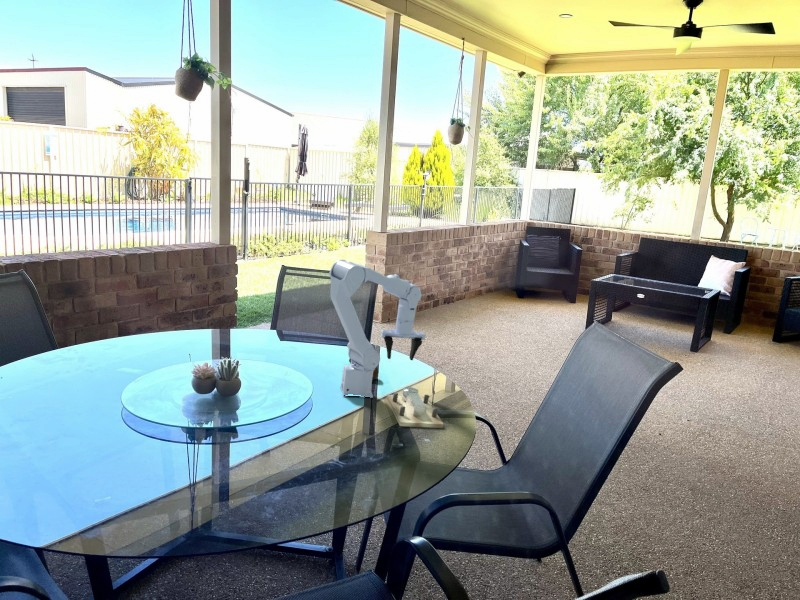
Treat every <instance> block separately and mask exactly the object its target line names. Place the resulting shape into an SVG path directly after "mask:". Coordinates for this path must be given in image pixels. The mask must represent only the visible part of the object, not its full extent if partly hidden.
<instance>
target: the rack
mask: <svg viewBox="0 0 800 600" xmlns="http://www.w3.org/2000/svg"><path fill="white" fill-rule="evenodd" d="M402 395H403V394H401V395H399V393H397V392H393V394H386V400H387V403H388V404H389V407H390V408H391V411H392V413H393V414H394V415H393V416H394V417H395V419H396V421H397V423H398V426H399V427H411V428H415V427H416V428H431V429H432V428H434V429H437V428H438V429H443V428H444V426H445V425H444V422H443V421H442V419H441V418H440V416H439V415H438V411H439V410H438V408H437V407H433V406H432V405H433V404H431V403H430V401H429V398H430V395H429V394H424V396H420V398H421V399H422V401H423V403H424V404H425V409H424V415H423V416H413V415H412V413H411V411H410V409H409V408H408V406H407V404H406V402H404V401H402Z"/></svg>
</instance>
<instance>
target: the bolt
mask: <svg viewBox="0 0 800 600" xmlns="http://www.w3.org/2000/svg"><path fill="white" fill-rule="evenodd" d="M348 362H349V363H350V364H351V359H350V358H349V359H348ZM378 374H379V369H378V366H377V367H376V368H375V370H373V377H372V380H375V379H376V378H377V377H378Z"/></svg>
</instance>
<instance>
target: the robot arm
mask: <svg viewBox="0 0 800 600" xmlns="http://www.w3.org/2000/svg"><path fill="white" fill-rule="evenodd" d="M328 275H329V277H330V293H329V294H330V295H329V297H330V299H331V302H332V305H333V306H334V309H335V311H336V314H337V316H338V318H339V320H340V323H341V325H342V328H343V329H344V332H345V333H344V334H345V335H346V337H347V340H348V343H347V344H346V346H347V348H348V349H347V350H348V354H347V355H348V358H349V359H351V363H350V364H348V365H346V364H345V365H344V366H343V370H342V377H341V384H340V389H341V393H342V392H343V393H342V396H343V395H348V394H353V395H361V396H364V395H366V396H365V397H370V398H369V399H372V398H374V395H373V393H372V390H371V389H372V385H373V384H372V382H373V379H372V377H373V370H375V368H376V367H377V368H378V366H379V364H380V362H381V355H380V353H379V352H378V351H377V350H376V349H375V348H374V346H373V345H372V343H371V342H370V341H369V340H368V339H367V337H366V334H365V332H364V329H363V326H362V324H361V321H360V319H359V317H358V314H357V312H356V308H355V307H354V304H353V302H352V298H351V297H352V296H353V295H354V294H355V293H356V291H357V290H358V289H359V288H360V287H361V285H362V284H363V283H367V282H368V281H369V282H373V283H374V284H378V285H380V286H381V287H382V290H383V291H384V292H385V293H388V294H389V295H392V296H395V297H396V298H398V299H399V300H398V306H397V314H396V321H395V322H396V323H395V329H381V331H380V332H381V333H380V336H381V338H383V341H384V343H385V348H386V356H387V359H388V360H391V359H392V348H393V344H394V341H393V338H397V339H398V338H399V339H400V338H401V339H411V342H410V343H411V345H410V346H411V347H410V351H409V359H410V361H413V360H414V359H415V356H416V353H417V351H418V350H419V349H420V347H421V345H422V344H423V341H425V340H426V333H425V332H422V331H421V332H420V331H414V325H415V324H414V323H415V317H416V310H417V307H418V304H419V302H420V300H421V298H422V296H423V294H422V292H421V289H420V287H419V286H418V285H416V284H413V283H410V281H409V280H408V279H402V278H400V275H398V274H396V273H394V274H388V275H384V274H382V273H380V272H378V271H376V270H374V269H372V268H369V267H368V266H365V265H363V264H359V263H356V262H352V261H349V262H348V261H347V260H345V259H337V260H336V261H334V263H333V264H332V266H331V268H330V270H329V273H328ZM365 397H364V398H365Z"/></svg>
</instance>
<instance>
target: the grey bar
mask: <svg viewBox="0 0 800 600" xmlns="http://www.w3.org/2000/svg"><path fill="white" fill-rule="evenodd" d="M401 395H402V401H404V402H406V404H407V406H408V408H409V409H410V411H411V413H412V415H413V416H423V415H424V409H425V404H424V403H423V401H422V399H421V398H420V397H421V396H420V395H419V389H418V388H416V387H411V386H405V387H403V389H402V394H401Z"/></svg>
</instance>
